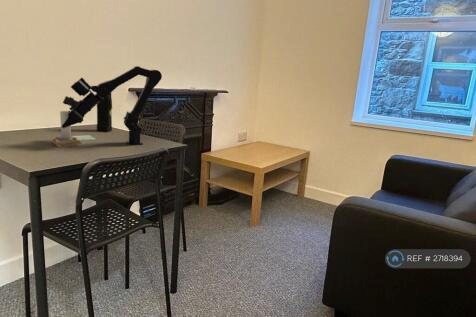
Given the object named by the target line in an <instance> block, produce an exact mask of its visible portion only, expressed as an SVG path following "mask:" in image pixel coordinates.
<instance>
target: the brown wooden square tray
mask: <svg viewBox="0 0 476 317" xmlns="http://www.w3.org/2000/svg"><path fill="white" fill-rule="evenodd" d="M72 136H73V140H69V141H59V137H60V136H56V137H55V136H54V137H53V136H52V138H51V141H52V143H53V144H54V145H55V146H56V147H59V148H60V147H61V148H62V147H63V148H64V147H76V146H78V147H79V146H81V144H82V141H80V140H79V139H77V138H76V137H74V136H75V135H72Z"/></svg>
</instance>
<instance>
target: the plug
mask: <svg viewBox="0 0 476 317" xmlns="http://www.w3.org/2000/svg"><path fill="white" fill-rule="evenodd" d="M69 111H70V110H63V111H60V112H59V114H60V116H59V117H60V130H61V131H60V135H61V136H58V137H59V141H69V140H73V137H71V136H72V132H71V128H72V127H71V126H72V125H71V126H68V127H65V128H62V125H63V124H64V122H65V121H66V120H67V118H68V113H69Z"/></svg>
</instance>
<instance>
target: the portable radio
mask: <svg viewBox="0 0 476 317" xmlns="http://www.w3.org/2000/svg"><path fill="white" fill-rule="evenodd" d="M95 94H98V95H99V96H100V97H101V98H104V104H102V103H101V102H99V103H98V104H97V105H96V131H97V132H102V133H103V132H104V133H108V132H112V130H113V125H112V122H113V121H112V119H113V118H112V117H113V116H112V109H113V100H112V92H111V93H110V94H109V95H107V96H101V95H100V94H99V93H97V92H95Z"/></svg>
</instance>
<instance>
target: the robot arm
mask: <svg viewBox="0 0 476 317" xmlns="http://www.w3.org/2000/svg"><path fill="white" fill-rule="evenodd" d="M137 76H142V77H145V84H144V87H143V89H142V91H141V93H140V94H139V97H138V98H137V101H136V103H134V106H133V108H132V109H131V111H126V114H125V116H124V117H123V124H124V126H125V127H126V128H127V129H128V141H125V143H126V144H128V145H130V146H133V145H134V146H135V145H139V146H140V145H144V143H143V142H141V133H142V131H143V129H142V128H141V127H140V125H139V122H140V118H141V117H140V116H141V113H142V112H143V109H144V107H145V105H146V103H147V101H148V99H149V97H150V95H151V94H152V91H153V90H154V88H155V87H156V86H157V85H158V84H159V83H160V81H161V80H162V77H163V75H162V73H161V71H160V70H158V69H157V70H156V69H151V70H150V69H147V68H143V67H141V66H138V65H136V66H133V67H132V68H131V69H130V70H127V71H125V72H124V73H122V74H120V75H118V76H115V77H114V78H113V79H110V80H106V81H104V82H101V83H99V84H97V85H90V84H89V83H88V82H87V81H86V80H85V79H84V78H83V77H80V79H78V80H77V81H75V82H74V83H73V84H72V85H71V86H70V89H72V91H73V92H75V93H76V94H77V95H78V96H79V97H81V96H82V97H84V98H83V99H79V100H75V99H74V97H72V96H67V95H66V96H65V97H64V99H63V100H62V104H64V105H67V106H69V110H68V111H69V113H68V118H67V120H66V121H65V122H64V124H63V125H62V128H65V127H68V126H73V125H76V124H81V123H82V122H83V121H84V118H85V116H86V115H87V113H89V112H91V111H92V109H94V107H96V106H97V104H98V103H99V102H101V103H102V104H104V98H101V97H100V96H99V95H98V94H96V92H97V93H99V94H100V95H101V96H107V95H109V94H110V93H111V94H112V93H113V92H114V91H115V89H117V88H118V87H119V86H121V85H123V84H124V83H126V82H128V81H130V80H132V79H134V78H135V77H137Z"/></svg>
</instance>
